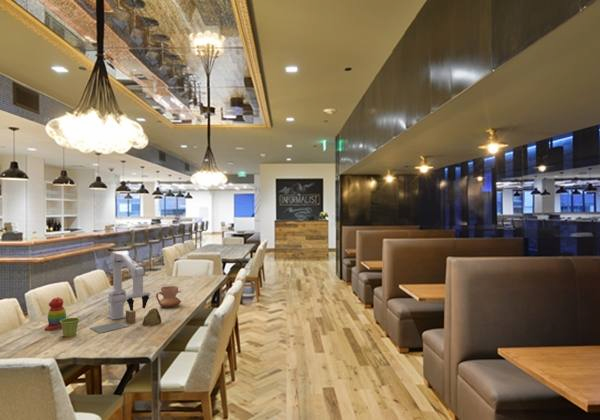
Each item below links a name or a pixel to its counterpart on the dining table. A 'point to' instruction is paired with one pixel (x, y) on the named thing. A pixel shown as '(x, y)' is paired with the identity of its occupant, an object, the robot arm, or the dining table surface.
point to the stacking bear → (55, 314)
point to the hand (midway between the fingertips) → (137, 309)
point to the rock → (152, 317)
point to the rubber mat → (108, 327)
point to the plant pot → (69, 326)
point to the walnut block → (130, 316)
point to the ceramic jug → (169, 296)
